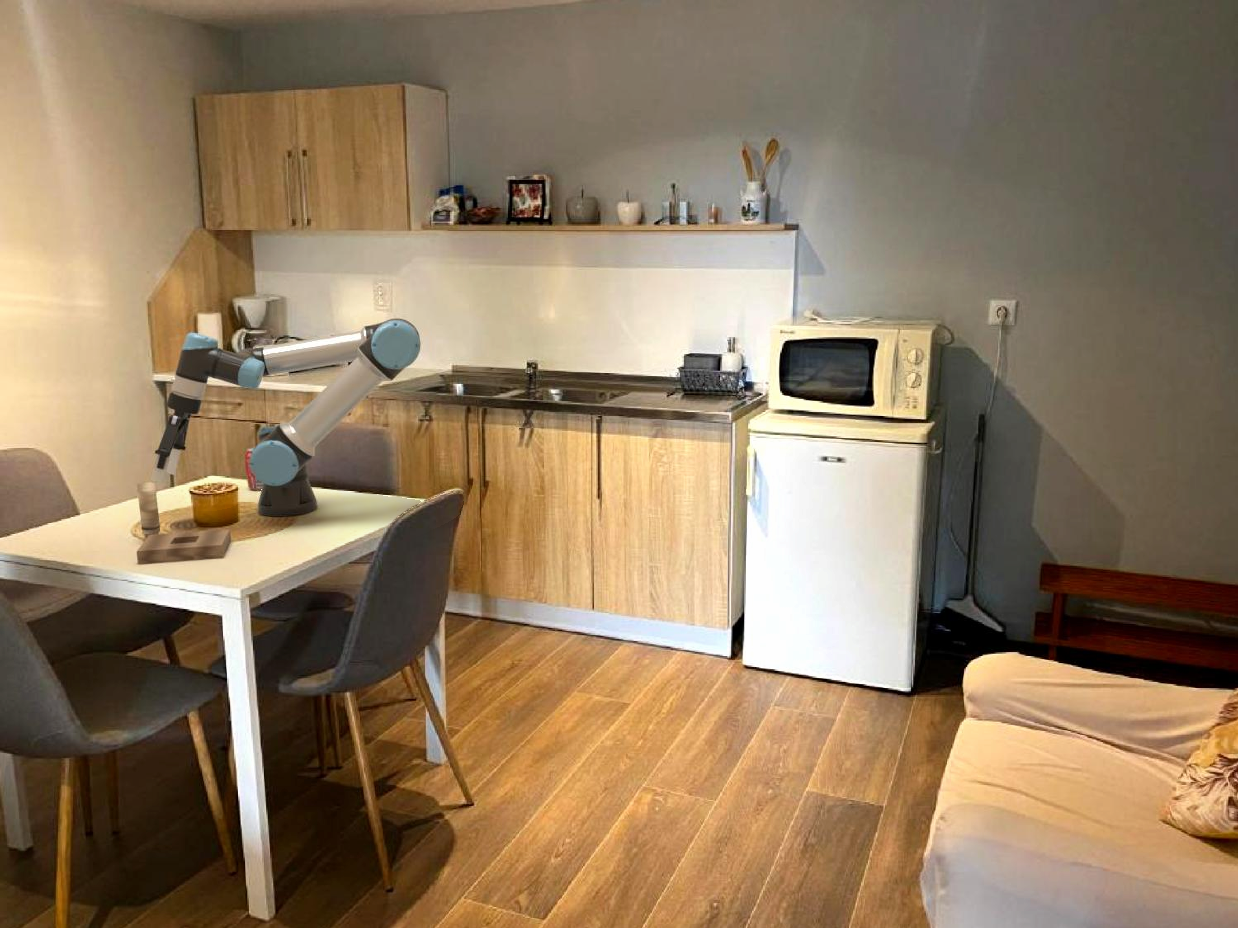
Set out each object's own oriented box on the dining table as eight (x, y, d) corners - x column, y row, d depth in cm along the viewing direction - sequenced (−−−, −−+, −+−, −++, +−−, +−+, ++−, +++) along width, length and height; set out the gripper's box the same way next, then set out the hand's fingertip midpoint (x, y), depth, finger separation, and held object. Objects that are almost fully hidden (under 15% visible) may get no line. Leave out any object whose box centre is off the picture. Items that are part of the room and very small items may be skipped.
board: (231, 541, 249) (229, 529, 248) (222, 557, 235) (221, 544, 235) (150, 547, 245) (149, 535, 244) (137, 564, 232) (136, 551, 231)
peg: (162, 537, 254) (156, 481, 251) (159, 541, 250) (153, 484, 247) (144, 538, 253) (138, 482, 250) (141, 542, 249) (135, 486, 246)
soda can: (266, 484, 310) (263, 445, 308) (277, 488, 305) (274, 448, 303) (243, 488, 305) (240, 449, 303) (254, 492, 300) (251, 452, 298)
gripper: (180, 388, 266) (158, 466, 268) (159, 394, 242) (135, 480, 243) (210, 396, 268) (188, 474, 269) (192, 403, 244) (168, 489, 245)
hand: (163, 477), depth 256 cm, fingers open, 13 cm apart
